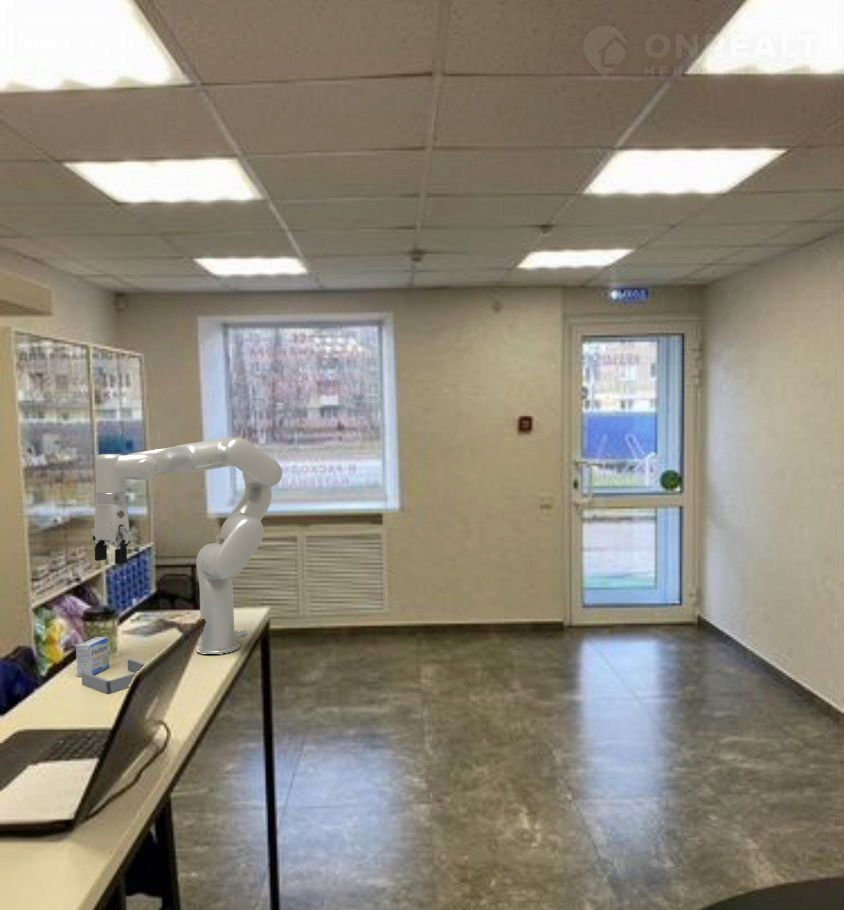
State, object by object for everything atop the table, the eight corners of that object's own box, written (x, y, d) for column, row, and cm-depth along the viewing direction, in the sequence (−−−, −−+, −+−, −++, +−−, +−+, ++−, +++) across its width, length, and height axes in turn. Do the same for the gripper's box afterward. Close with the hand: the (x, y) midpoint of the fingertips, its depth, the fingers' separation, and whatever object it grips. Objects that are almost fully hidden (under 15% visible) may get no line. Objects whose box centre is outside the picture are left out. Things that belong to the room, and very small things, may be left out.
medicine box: (91, 677, 192) (90, 645, 192) (76, 676, 193) (75, 644, 193) (109, 667, 200) (108, 637, 199) (95, 667, 201) (94, 636, 200)
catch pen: (130, 669, 197) (130, 658, 197) (157, 678, 190) (156, 667, 189) (81, 684, 187) (81, 672, 187) (107, 694, 179) (107, 682, 179)
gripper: (141, 499, 194) (141, 563, 194) (105, 497, 204) (105, 557, 204) (115, 501, 188) (115, 566, 188) (80, 498, 198) (80, 560, 198)
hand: (110, 561), depth 196 cm, fingers open, 9 cm apart
